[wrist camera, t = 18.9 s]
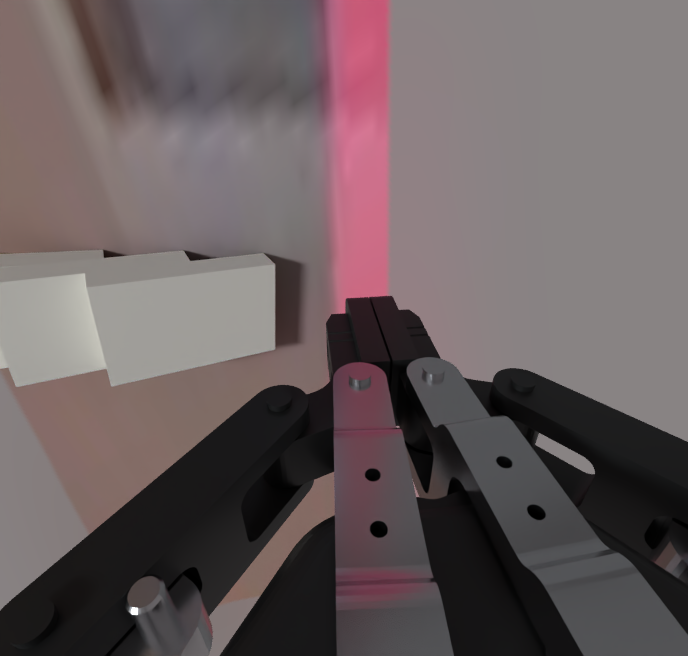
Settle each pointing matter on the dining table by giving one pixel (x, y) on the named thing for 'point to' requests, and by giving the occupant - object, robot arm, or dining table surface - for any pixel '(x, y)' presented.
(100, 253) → the domino
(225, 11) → the dining table surface
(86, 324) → the domino
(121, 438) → the dining table surface
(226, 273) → the domino
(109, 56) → the dining table surface
